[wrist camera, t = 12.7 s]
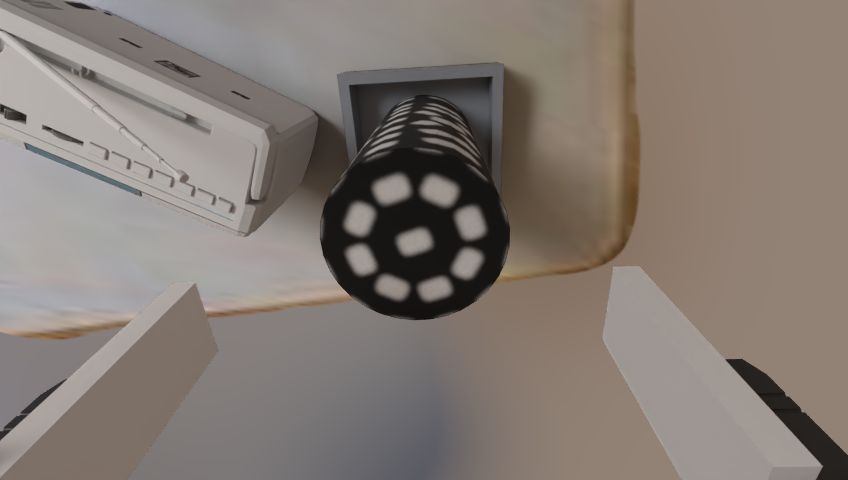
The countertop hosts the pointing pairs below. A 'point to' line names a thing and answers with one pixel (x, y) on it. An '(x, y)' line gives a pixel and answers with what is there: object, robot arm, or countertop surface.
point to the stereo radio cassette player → (148, 114)
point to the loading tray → (459, 84)
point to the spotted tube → (416, 216)
